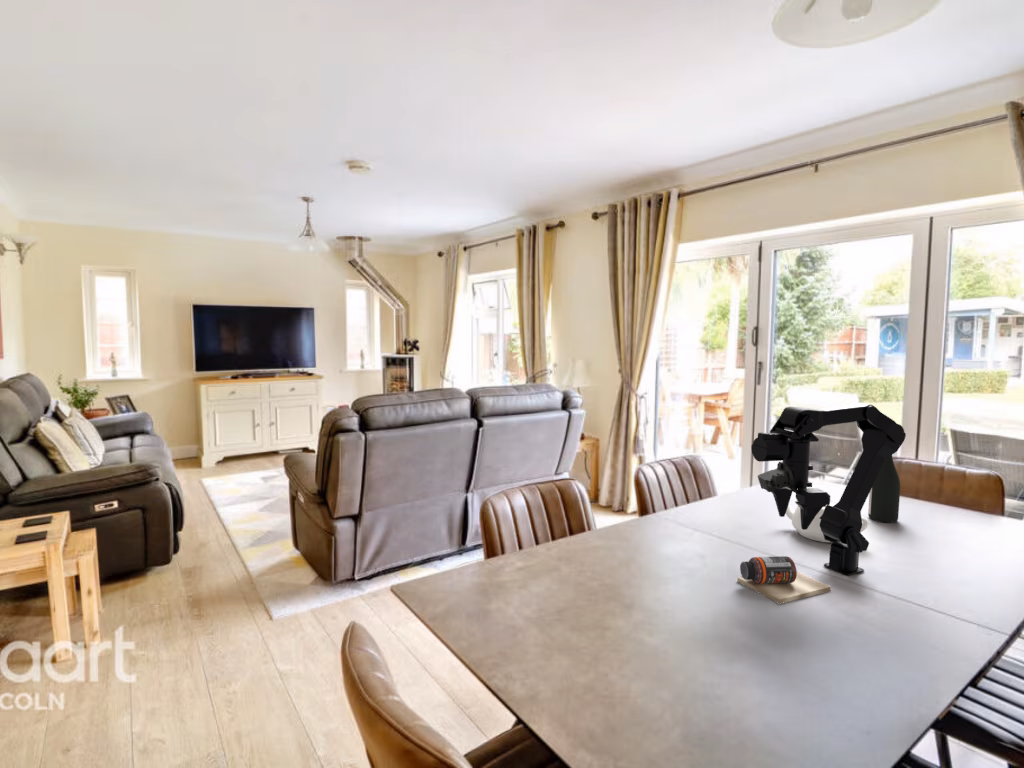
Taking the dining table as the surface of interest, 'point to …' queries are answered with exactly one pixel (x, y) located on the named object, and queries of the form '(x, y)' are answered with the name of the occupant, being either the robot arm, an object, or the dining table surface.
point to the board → (788, 588)
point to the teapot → (813, 523)
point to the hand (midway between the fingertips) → (792, 522)
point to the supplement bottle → (769, 570)
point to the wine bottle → (885, 494)
